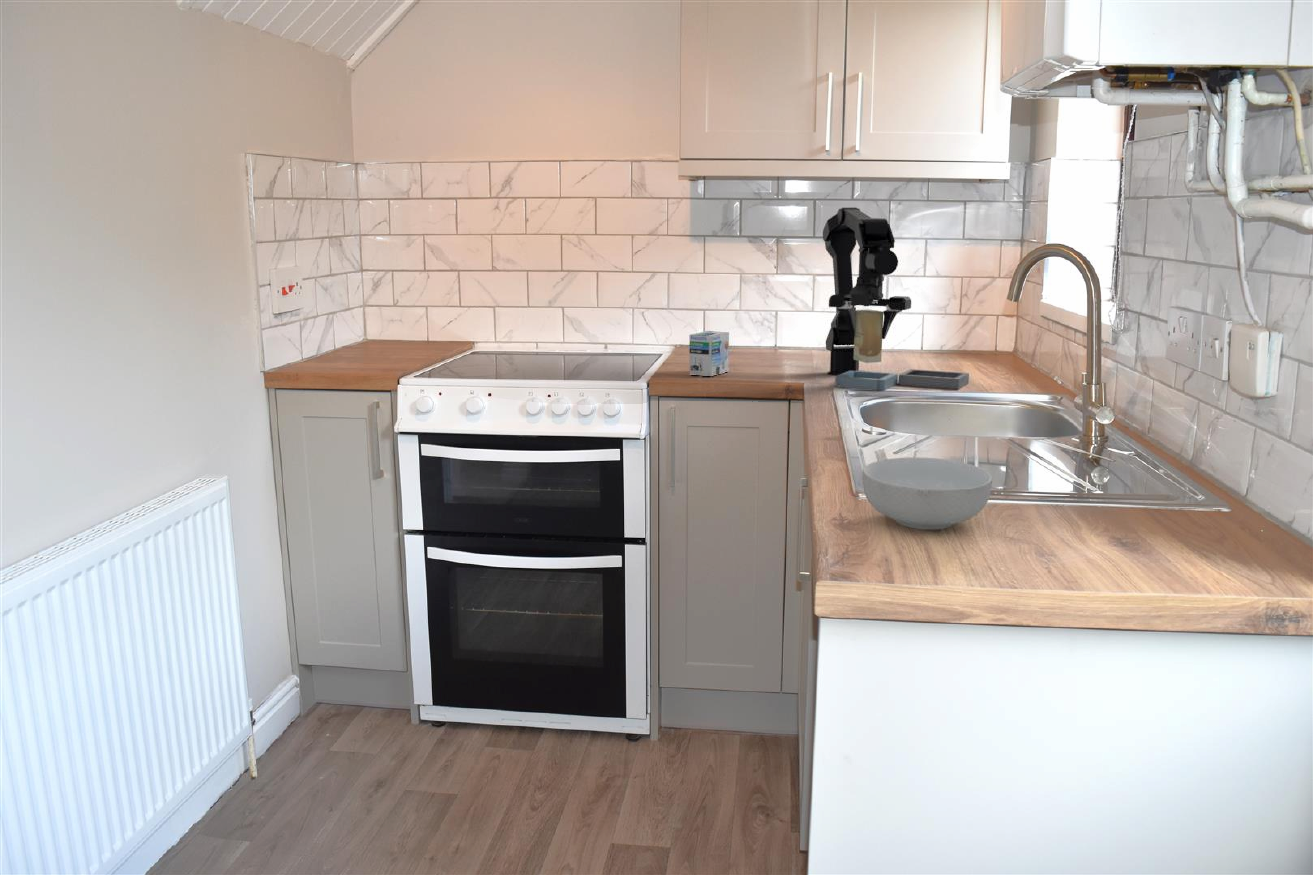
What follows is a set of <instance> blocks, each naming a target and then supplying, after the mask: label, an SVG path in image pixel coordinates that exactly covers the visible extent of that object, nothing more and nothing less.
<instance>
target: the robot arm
mask: <svg viewBox="0 0 1313 875" xmlns="http://www.w3.org/2000/svg"><path fill="white" fill-rule="evenodd" d="M822 240H823V242H824V245H825V251H826V252H827V253H828V255H829V256H830V258H832V268H833V270H832V271H833V281H834V282H833V283H834V294H832V295H831V296H829V299H828V307H829V308H835V315H834V317H833V319H832V320H831V322H830V329H829V331H828V334H827V337H826V339H825V350H827V351H829V352H830V358H829V359H830V362H829V366H830V367H829V371H828V372H827V374H828V375H835V376H837V375H840V374H842V373H845V372H847V371H860V361H858V360H854V334H855V310H857V307H856V306H863V307H870V306H871V307H886V310H882V312H883V330H882V340H885V339H886V338H887V335H888V333H889V330H890V328H891V325H892V323H893V321H894V320H895V318H896V316H897V315H898V313H902V312H903V311H906V310H910V309H912V299H911V297H910V296H903V295H901V296H900V295H894V296H890V297H889V298H884V293H883V287H884V286H883V284H884V283H883V282H885V281H884V280H885V276H888V275H891V274H893V273H894V272H895V271H896V270H897V268H898V267H899V266H898V265H899V260H898V257H897V254H896V253H895V252H894V251H892V250H891V249H894V248H895V242H896V239H895V237H894V234H893V231H892V228H891V225H890V223H889V221H888V220H887V218H882V217H881V218H880V217H879V218H878V217H877V218H876V217H874V218H873V217H871V216H869V215H867V214H866V213H864V212H863V211H861V209H860V208H857V207H841V208H839V209H838V211H837V213H835V215H833V216H831V217H830V218H829V219H828V220H826V223H825V225H824V227H823V229H822ZM857 244H858V247H859V248H858V252H859V253H858V254H859V255H858V276H857V277H856V284H855V285H854V283H853V280H854V279H853V268H852V253H853V251H854V250H855V248H856V246H857Z"/></svg>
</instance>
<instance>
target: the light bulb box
mask: <svg viewBox="0 0 1313 875" xmlns="http://www.w3.org/2000/svg"><path fill="white" fill-rule="evenodd" d="M729 352H730V333H729V332H727V331H713V330H704V331H701V332H698V333H692V334H689V375H690V374H696V375H704V376H713V375H716V374H719V373H725V372H727V371H730V370H729V367H730V366H729V364H730V363H729V360H730V356H729V355H730V354H729ZM725 374H726V373H725Z"/></svg>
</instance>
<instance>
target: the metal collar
mask: <svg viewBox="0 0 1313 875" xmlns="http://www.w3.org/2000/svg"><path fill="white" fill-rule="evenodd" d="M969 381H970V373H969V372H956V371H944V370H943V371H941V370H929V369H916V368H915V369H912V368H910V369H909V370H906V371H904V372H901V373H900V374H898V383H897V385H898V386H904V385H905V386H907V387H918V388H919V387H920V388H921V387H922V388H932V389H934V388H935V389H943V390H944V389H947V390H958V391H959V390H960V389H962V388H963V387H965V386H966V385H968V384H969Z"/></svg>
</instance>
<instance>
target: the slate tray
mask: <svg viewBox="0 0 1313 875" xmlns="http://www.w3.org/2000/svg"><path fill="white" fill-rule="evenodd" d="M834 377H835V378H834V379H835V381H834V387H835V386H840V387H847V388H846V389H852V388H858V389H857V390H865V389H867V391H886V390H889V389H890V388H892V387H894V386H896V385H898V383H899V374H898V373H894V372H887V371H886V372H885V371H884V372H883V371H870V370H859V371H847V372H845V373H842V374H840V375H835V376H834ZM840 387H839V388H840Z"/></svg>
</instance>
